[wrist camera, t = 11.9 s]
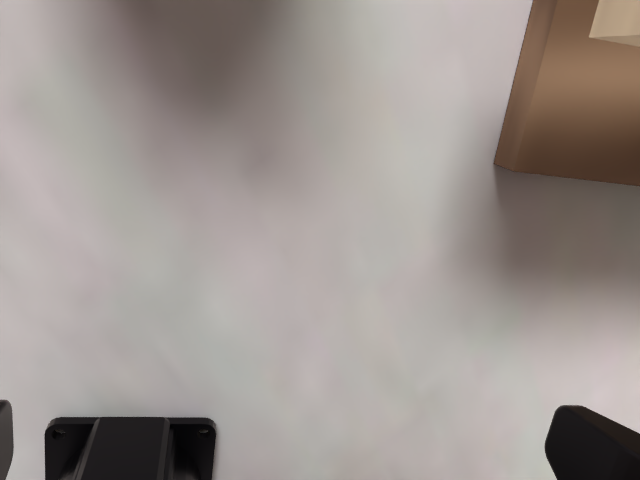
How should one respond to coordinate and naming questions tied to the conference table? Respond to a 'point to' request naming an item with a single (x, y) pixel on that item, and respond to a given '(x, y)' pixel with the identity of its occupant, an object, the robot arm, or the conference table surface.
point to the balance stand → (573, 100)
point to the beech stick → (617, 21)
